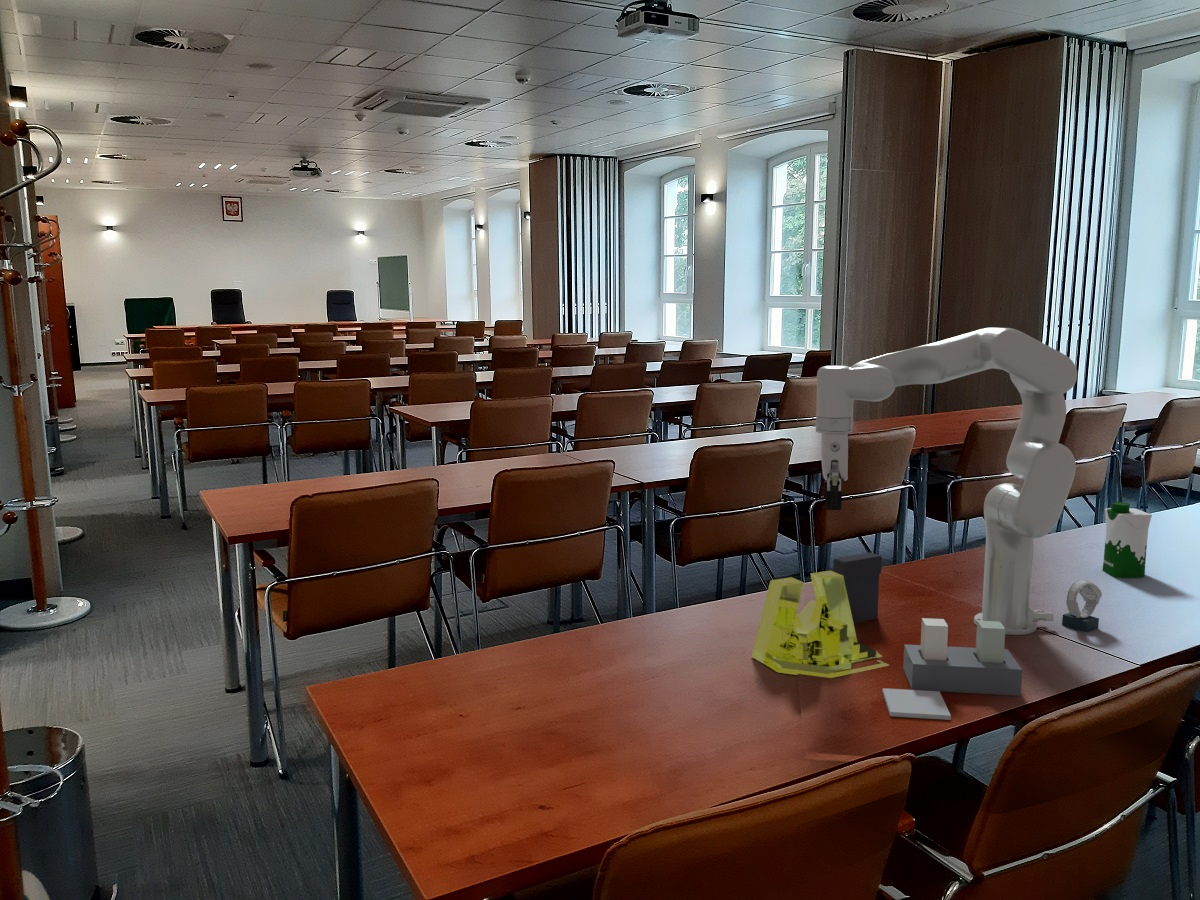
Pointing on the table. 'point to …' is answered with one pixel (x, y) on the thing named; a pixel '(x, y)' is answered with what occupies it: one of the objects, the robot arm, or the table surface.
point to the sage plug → (990, 642)
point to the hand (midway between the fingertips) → (832, 504)
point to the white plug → (934, 639)
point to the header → (962, 672)
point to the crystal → (810, 630)
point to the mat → (916, 704)
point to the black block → (861, 583)
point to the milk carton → (1125, 541)
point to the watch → (1083, 618)
